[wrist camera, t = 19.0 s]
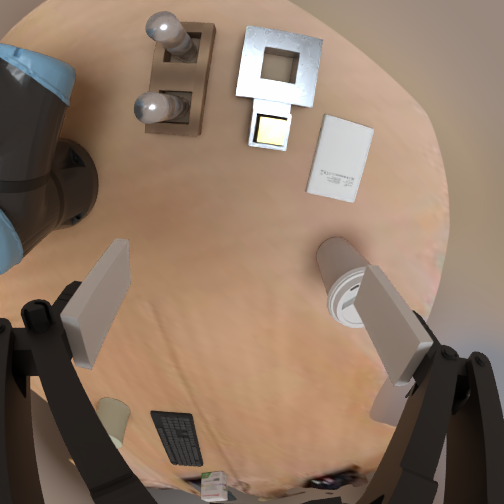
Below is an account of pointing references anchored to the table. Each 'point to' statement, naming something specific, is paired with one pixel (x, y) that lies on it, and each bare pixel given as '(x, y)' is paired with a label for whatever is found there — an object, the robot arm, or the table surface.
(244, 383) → the table surface
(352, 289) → the coffee cup
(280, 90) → the block
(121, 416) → the can
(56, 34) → the table surface
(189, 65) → the rack
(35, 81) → the robot arm
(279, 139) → the yellow piece
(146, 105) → the test tube
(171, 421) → the dark grey ribbed block
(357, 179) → the external hard drive
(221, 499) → the ink box
